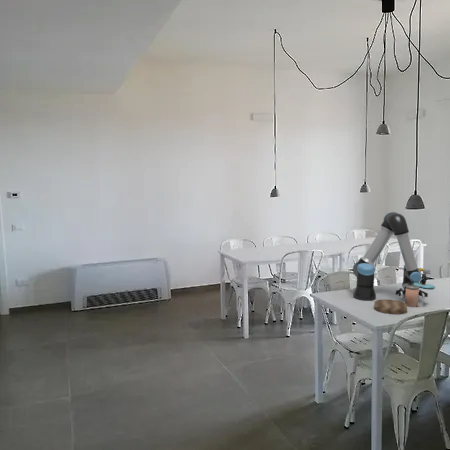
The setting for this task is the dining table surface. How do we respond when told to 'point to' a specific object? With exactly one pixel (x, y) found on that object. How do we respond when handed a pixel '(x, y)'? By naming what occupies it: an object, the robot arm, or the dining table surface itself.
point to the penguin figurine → (423, 281)
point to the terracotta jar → (411, 295)
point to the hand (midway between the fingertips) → (412, 296)
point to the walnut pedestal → (390, 306)
